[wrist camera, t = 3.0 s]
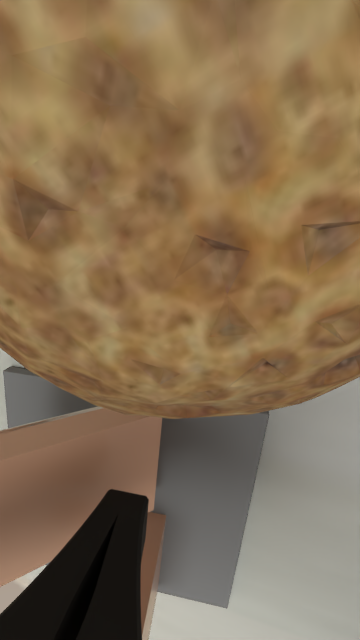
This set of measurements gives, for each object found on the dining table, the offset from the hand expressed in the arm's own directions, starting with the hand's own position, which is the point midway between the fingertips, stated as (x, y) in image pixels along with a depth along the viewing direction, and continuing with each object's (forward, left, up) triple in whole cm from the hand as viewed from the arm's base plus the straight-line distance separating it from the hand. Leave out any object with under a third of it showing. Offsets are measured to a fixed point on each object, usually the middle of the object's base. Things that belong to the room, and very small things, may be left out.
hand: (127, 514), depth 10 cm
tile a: (0, 0, -3) cm, 3 cm away
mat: (+1, +4, -4) cm, 5 cm away
